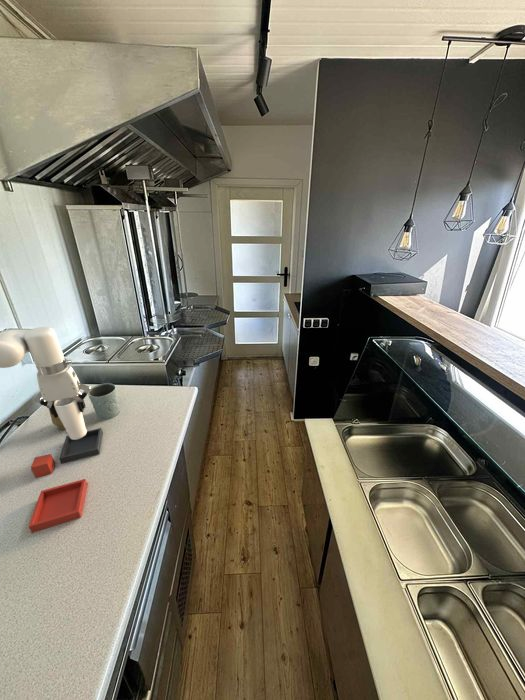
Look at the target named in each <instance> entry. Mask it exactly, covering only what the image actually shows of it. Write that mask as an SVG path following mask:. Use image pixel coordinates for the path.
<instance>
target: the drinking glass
mask: <svg viewBox="0 0 525 700" xmlns="http://www.w3.org/2000/svg"><path fill="white" fill-rule="evenodd" d="M77 403H78V401H77V400H76V399H75V398H74V397H70V398H65V399H60V400H56V401H55V402H54V407H55V410H56V412H57V414H58V416H59V418H60V420H61V422H62V424H63V425H64V427H65V429H66V430H65V431H66V433H67V436H68V435H69V437H70V439H72V440H77V439H80V438H82V437H84V436H85V435H86V433H87V431H88V430H87V427H86V423H85V420H84V415H83V412H80V410H79V407H78V404H77Z"/></svg>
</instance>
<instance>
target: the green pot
mask: <svg viewBox="0 0 525 700" xmlns="http://www.w3.org/2000/svg"><path fill="white" fill-rule="evenodd" d="M87 395H88V398H89V400H90V402H91V404H92V407H93V409H94V412H95V416H96V417H97V419H99V420H101V421H106V420H111V419H113V418H115V417H116V416H118V415H119V413H120V404H119V400H118V393H117V386H116V385H115V384H113V383H111V382H104V383H100V384H96V385H94V386H93V387H91V389H90V391H89V392H88V394H87Z"/></svg>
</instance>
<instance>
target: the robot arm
mask: <svg viewBox="0 0 525 700" xmlns="http://www.w3.org/2000/svg"><path fill="white" fill-rule="evenodd" d="M27 353H30V355H31V358H32V360H33V363H34V365H35V367H36V370H37V373H36V381H37V385H38V389H39V392H38V393H37V394H36V395H34V397H33V399H32V401H33V402H35V403H38V404H40V406H44V407H46V408H47V409H48V410H49V409H50V411H51V414H52V415H54V417H55V418H57V417H58V414H57V412H56V410H55V407H54V401H55V400H60V399H65V398H70V397H74V398H75V399H76V400H77V401H78V403H77V404H78V407H79V410H80V412H82V413H84V410H85V409H86V408H87V407H86V403H85V400H84V399H86V397H87V395H88V392H89V391H90V389H91V388H92V387H91V386H90V385H86V384H84V383H81V382H80V380H79V377H78V376H77V373H76V371H75V370H74V368H73V367H72V365H73V363H72V360H71V359H69V360H68V359H67V358H66V357H65V355H64V352H63V349H62V347H61V344H60V341H59V338H58V335H57V332H56V331H55V329H54V328H53V327H50V326H39V327H34V328H31V329H10V330H9V329H8V330H4V331H2V332H0V369H7V368H12V367H15V366H17V365H19V364H20V363H21V362H22V360H23V359H24V357H25V355H26V354H27ZM80 390H83V392H80ZM50 411H49V412H50Z"/></svg>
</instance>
